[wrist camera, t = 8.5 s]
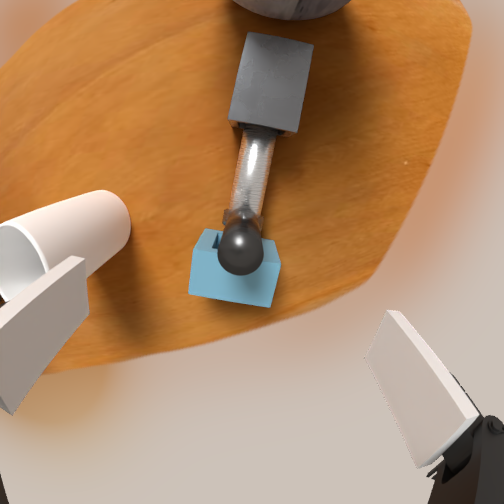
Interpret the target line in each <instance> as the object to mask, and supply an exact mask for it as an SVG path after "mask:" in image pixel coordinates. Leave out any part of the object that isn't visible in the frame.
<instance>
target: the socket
mask: <svg viewBox="0 0 504 504" xmlns="http://www.w3.org/2000/svg"><path fill="white" fill-rule="evenodd" d="M222 234H223V231H218V230H212V229H206V228H205V230H204V232H203V233H202V235H201V237H200V238H199V240H198V242H197V244H196V245H195V247H194V249H193V256H192V265H191V273H190V283H189V292H188V294H192V295H197V296H202V297H208V298H214V299H219V300H225V301H231V302H237V303H243V304H249V305H255V306H262V307H269V308H270V307H271V303H272V299H273V295H274V291H275V287H276V283H277V279H278V275H279V271H280V267H281V262H280V259H279V255H278V252H277V249H276V246H275V242H274V240H268V239H263V238H261V239H262V245H263V251H264V257H263V261H262V263H261V265H260V267H259V268H258V269H257V270H256V271H254V272H253V273H251V274H248V275H244V276H238V275H233V274H231V273H229V272H227V271H226V270H225V269H223V267H222V266H221V265H220V263H219V261H218V257H217V250H218V246H219V243H220V240H221V237H222Z"/></svg>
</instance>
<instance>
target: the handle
mask: <svg viewBox="0 0 504 504" xmlns="http://www.w3.org/2000/svg"><path fill="white" fill-rule="evenodd" d="M277 131H278V129H273V128H268V127H263V126H258V125H253V124H247V123H245V126H244V131H243V136H242V141H241V146H240V151H239V156H238V161H237V166H236V172H235V177H234V182H233V188H232V193H231V199H230V204H229V209H226V210H224V215H223V221H222V223H223V224H224V225H225V228H224V231H223V234H222V237H221V240H220V243H219V246H218V250H217V257H218V261H219V263H220V265H221V266H222V267H223V269H225V270H226V271H227V272H229V273H231V274H233V275H238V276H244V275H248V274H251V273H253V272H254V271H256V270H257V269H258V268H259V267H260V265H261V263H262V261H263V257H264V251H263V245H262V239H261V233H260V231H261V230H262V225H263V221H264V217H263V216H262V215H261V210H262V205H263V200H264V195H265V190H266V186H267V181H268V176H269V171H270V166H271V161H272V156H273V151H274V146H275V141H276V136H277Z"/></svg>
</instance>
